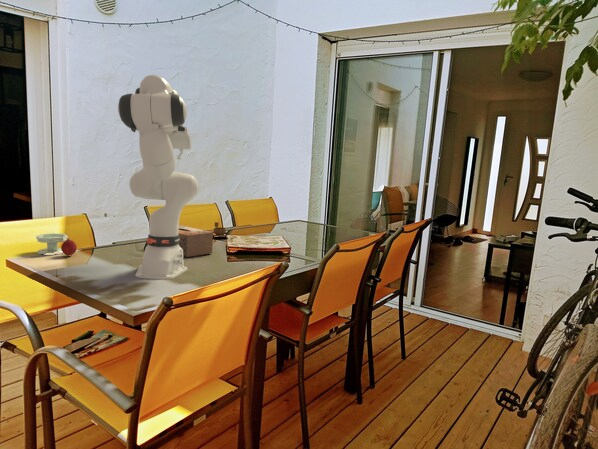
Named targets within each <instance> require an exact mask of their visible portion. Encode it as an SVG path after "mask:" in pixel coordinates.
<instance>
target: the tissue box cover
mask: <svg viewBox="0 0 598 449" xmlns="http://www.w3.org/2000/svg"><path fill="white" fill-rule="evenodd" d="M213 232H214V231H208V230H204V229H199V228H195V227H190V226H186V225H183V224H179V228H178V234H179V238H180V240H179V246H180V247H181V248H182V249H183V257H186V258H189V257H196V256H197V257H198V256H202V255H209V254H213V244H214V243H213V239H214V237H213Z"/></svg>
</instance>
